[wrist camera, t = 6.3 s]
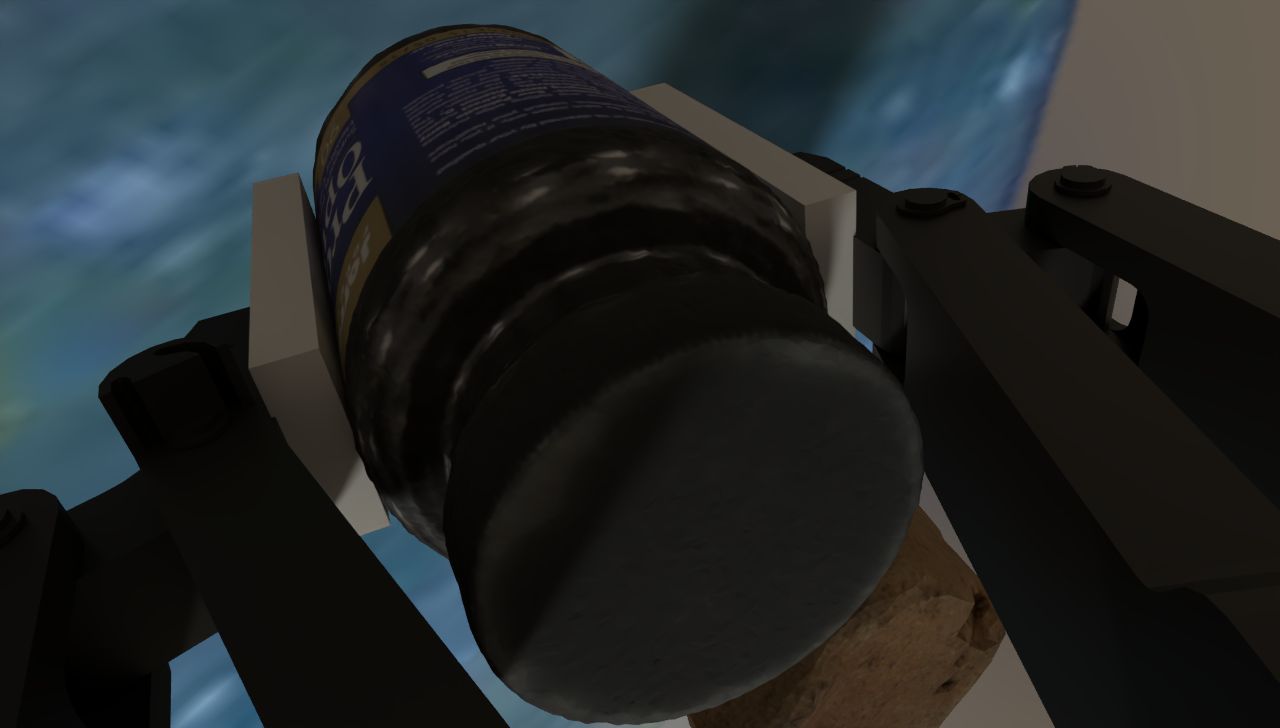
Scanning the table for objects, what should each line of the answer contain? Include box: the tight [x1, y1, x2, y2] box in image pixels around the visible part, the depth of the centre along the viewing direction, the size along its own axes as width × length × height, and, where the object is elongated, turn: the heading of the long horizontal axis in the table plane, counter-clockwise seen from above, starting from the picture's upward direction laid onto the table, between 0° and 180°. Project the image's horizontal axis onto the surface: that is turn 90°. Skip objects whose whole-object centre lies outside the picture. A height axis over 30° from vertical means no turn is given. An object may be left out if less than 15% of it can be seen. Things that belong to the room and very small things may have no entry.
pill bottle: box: [313, 24, 925, 725], centre depth 12 cm, size 6×6×11 cm
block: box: [687, 505, 1006, 728], centre depth 30 cm, size 11×8×20 cm
